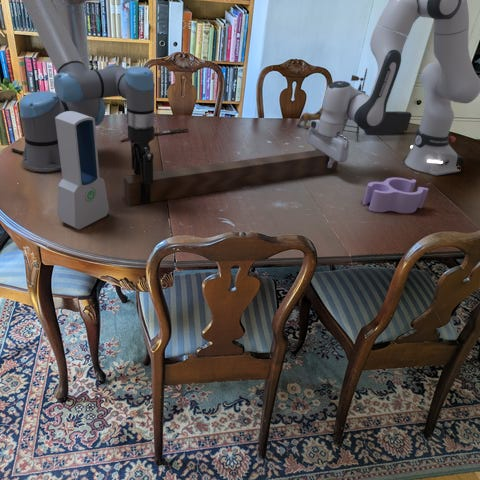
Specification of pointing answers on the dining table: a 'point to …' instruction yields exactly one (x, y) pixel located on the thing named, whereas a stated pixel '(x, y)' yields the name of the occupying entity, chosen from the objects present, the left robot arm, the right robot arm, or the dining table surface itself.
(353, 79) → the miniature windmill
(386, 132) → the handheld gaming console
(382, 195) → the clip
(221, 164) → the post
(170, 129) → the sword
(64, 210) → the electronic device
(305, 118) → the lion figurine
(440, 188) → the dining table surface
